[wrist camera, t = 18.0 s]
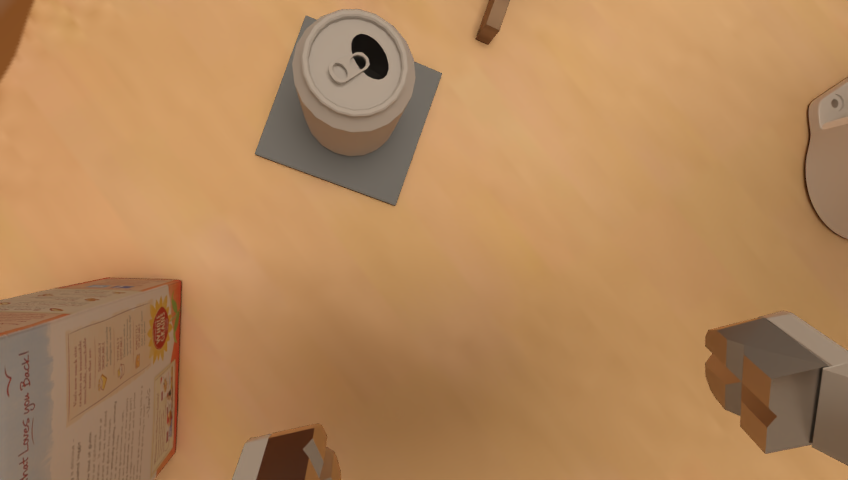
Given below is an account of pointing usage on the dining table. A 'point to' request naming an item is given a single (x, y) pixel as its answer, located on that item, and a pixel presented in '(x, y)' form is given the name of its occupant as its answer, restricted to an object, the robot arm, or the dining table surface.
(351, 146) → the can
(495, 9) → the walnut cradle
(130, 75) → the dining table surface
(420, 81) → the slate mat
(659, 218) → the dining table surface
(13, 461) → the cracker box
